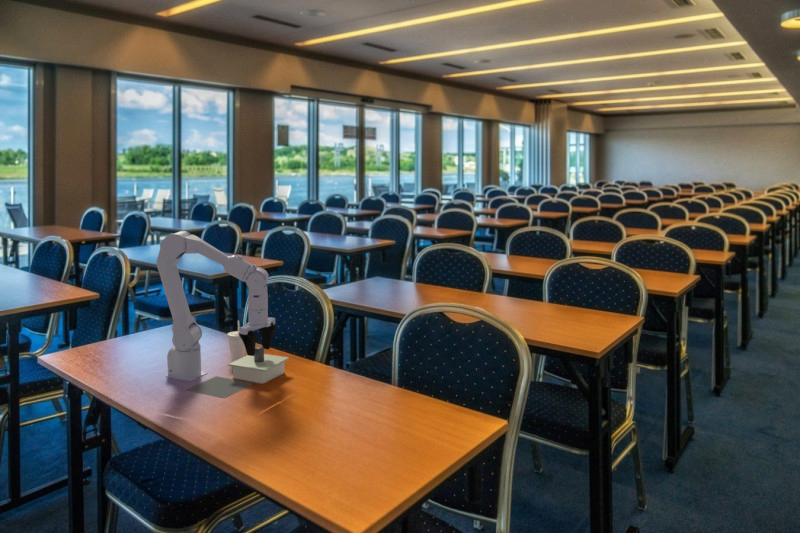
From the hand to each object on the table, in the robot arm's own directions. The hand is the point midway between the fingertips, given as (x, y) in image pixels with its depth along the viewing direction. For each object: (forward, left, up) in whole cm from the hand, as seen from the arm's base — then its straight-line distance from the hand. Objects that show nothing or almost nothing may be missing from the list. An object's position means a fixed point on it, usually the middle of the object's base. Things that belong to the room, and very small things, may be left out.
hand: (258, 352), depth 182 cm
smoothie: (-15, +9, -8) cm, 19 cm away
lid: (0, 0, -3) cm, 3 cm away
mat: (-4, -13, -8) cm, 16 cm away
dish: (0, 0, -8) cm, 8 cm away
